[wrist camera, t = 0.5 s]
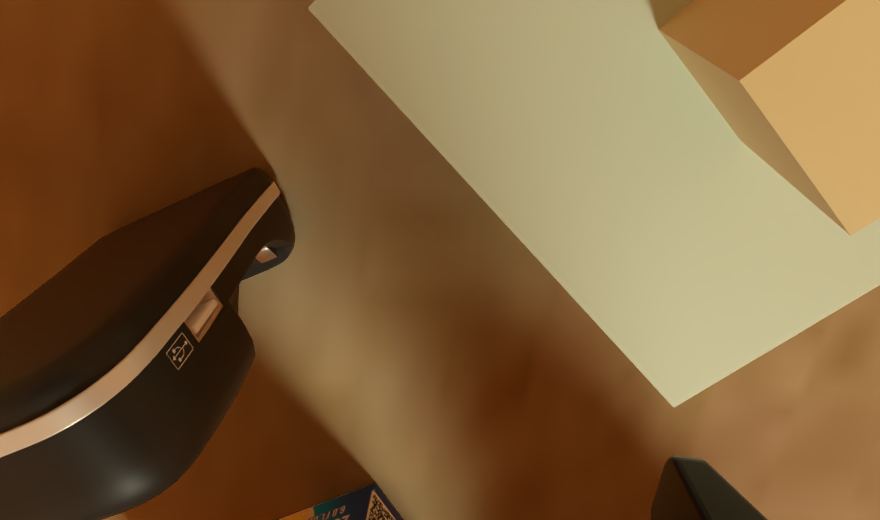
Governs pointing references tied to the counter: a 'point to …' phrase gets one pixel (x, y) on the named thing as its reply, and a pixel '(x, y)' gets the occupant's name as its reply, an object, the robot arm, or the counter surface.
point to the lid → (656, 154)
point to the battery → (133, 354)
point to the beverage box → (351, 507)
